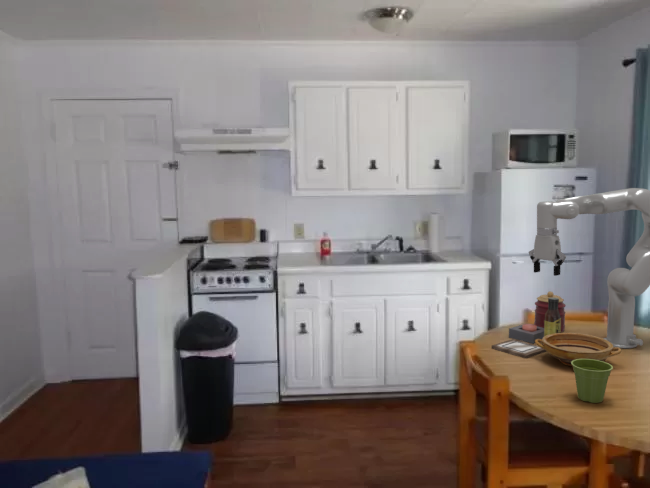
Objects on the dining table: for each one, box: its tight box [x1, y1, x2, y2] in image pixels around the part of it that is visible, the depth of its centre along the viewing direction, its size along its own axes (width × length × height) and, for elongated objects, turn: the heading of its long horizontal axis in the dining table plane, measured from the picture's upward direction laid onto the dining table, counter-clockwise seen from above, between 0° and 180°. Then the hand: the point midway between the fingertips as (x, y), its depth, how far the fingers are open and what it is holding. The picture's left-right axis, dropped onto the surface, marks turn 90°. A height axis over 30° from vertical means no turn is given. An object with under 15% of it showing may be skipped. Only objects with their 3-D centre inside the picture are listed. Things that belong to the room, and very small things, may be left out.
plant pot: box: [571, 359, 614, 404], centre depth 173 cm, size 12×12×11 cm
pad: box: [491, 338, 547, 359], centre depth 222 cm, size 16×14×1 cm
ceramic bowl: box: [535, 332, 622, 367], centre depth 206 cm, size 30×24×8 cm
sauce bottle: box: [544, 298, 562, 336], centre depth 225 cm, size 6×6×20 cm
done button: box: [521, 323, 537, 332], centre depth 237 cm, size 6×6×3 cm
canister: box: [533, 291, 566, 333], centre depth 248 cm, size 13×13×18 cm
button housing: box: [508, 324, 544, 345], centre depth 237 cm, size 12×12×4 cm
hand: (546, 273), depth 225 cm, fingers open, 9 cm apart
